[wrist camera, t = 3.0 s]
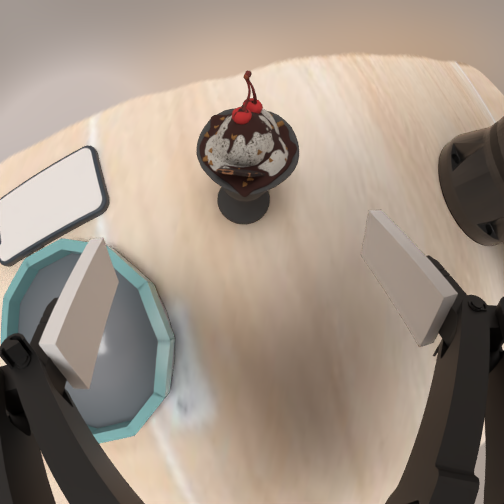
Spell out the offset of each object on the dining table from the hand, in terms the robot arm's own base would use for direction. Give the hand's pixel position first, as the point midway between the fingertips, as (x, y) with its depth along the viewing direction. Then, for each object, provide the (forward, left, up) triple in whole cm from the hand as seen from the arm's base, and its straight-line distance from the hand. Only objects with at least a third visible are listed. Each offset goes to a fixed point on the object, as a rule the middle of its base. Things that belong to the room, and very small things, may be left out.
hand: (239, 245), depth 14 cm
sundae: (-3, -6, -13) cm, 15 cm away
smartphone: (+17, -15, -14) cm, 27 cm away
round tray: (+17, +1, -13) cm, 21 cm away
